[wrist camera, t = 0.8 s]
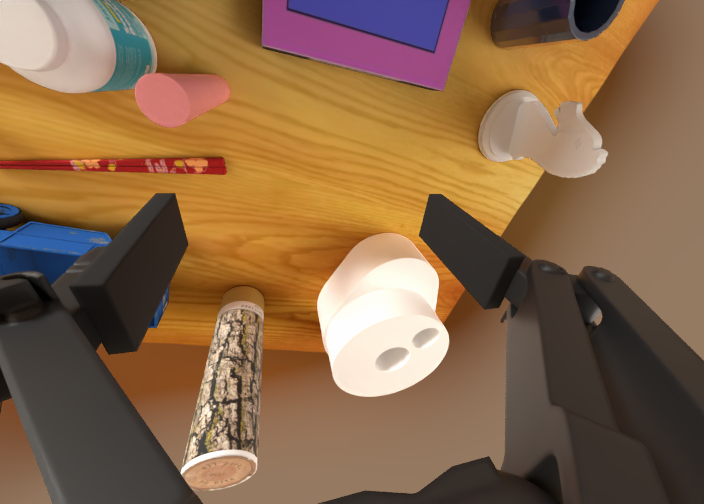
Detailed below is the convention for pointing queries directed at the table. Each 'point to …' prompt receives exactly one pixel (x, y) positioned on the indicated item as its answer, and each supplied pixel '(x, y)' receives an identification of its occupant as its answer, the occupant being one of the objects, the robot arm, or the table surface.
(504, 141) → the chess piece
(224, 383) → the bark covered wood stump
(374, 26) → the book
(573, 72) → the table surface
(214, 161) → the chopstick
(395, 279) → the container
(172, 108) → the pink long cylinder
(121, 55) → the pill bottle
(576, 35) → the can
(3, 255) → the toy vehicle
